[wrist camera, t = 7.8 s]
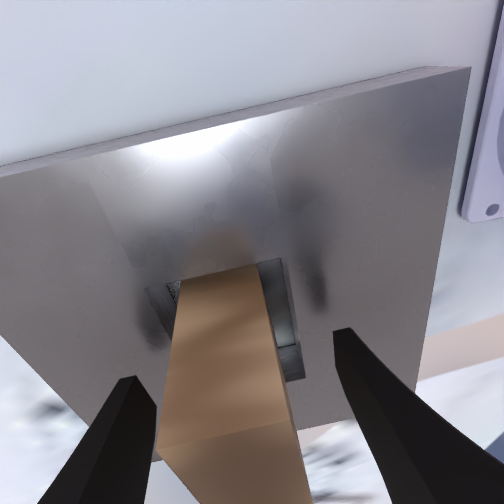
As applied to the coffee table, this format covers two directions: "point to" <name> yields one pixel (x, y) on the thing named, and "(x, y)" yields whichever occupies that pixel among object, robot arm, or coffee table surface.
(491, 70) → the robot arm
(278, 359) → the tan cardboard box
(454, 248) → the coffee table surface
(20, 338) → the collar plate
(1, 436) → the coffee table surface
